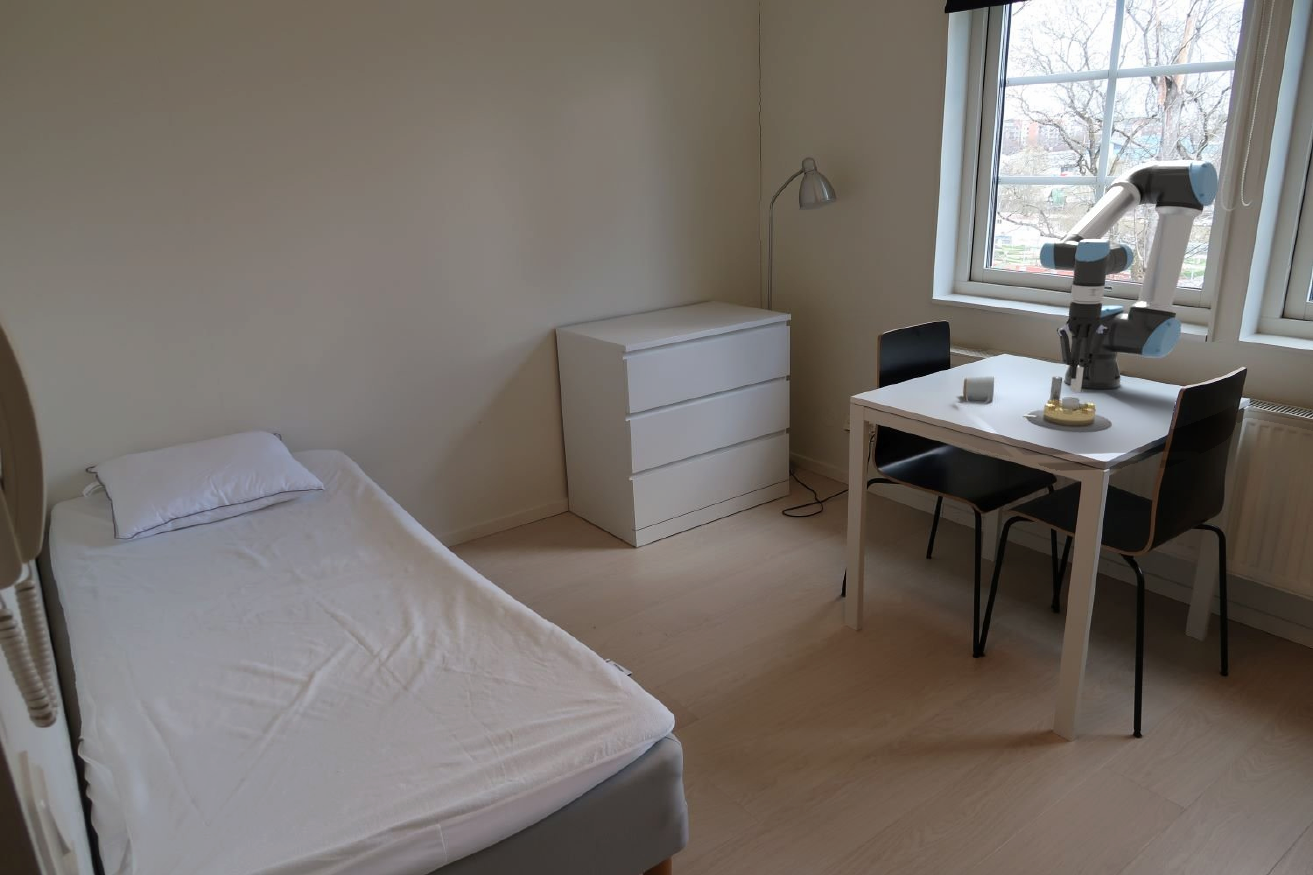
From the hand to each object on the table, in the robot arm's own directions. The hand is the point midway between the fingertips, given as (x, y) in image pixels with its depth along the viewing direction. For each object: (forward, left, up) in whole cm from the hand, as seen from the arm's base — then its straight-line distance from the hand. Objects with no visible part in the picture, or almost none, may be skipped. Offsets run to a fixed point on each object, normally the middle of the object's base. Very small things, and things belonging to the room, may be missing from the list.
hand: (1075, 390), depth 232 cm
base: (+5, +9, -7) cm, 12 cm away
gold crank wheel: (+5, +7, -5) cm, 10 cm away
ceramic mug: (+20, -13, -7) cm, 25 cm away
